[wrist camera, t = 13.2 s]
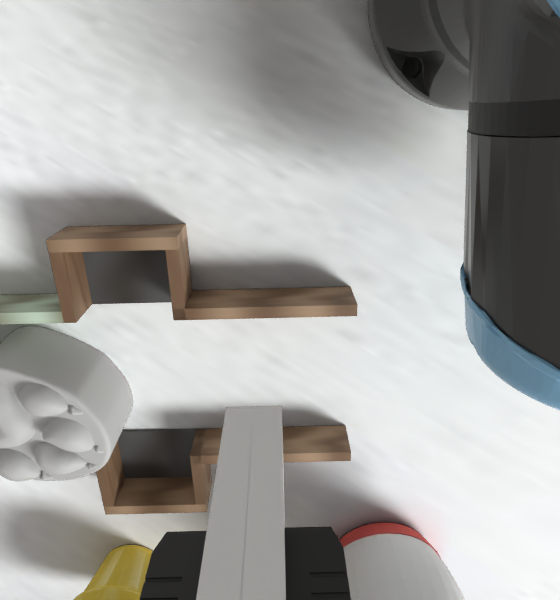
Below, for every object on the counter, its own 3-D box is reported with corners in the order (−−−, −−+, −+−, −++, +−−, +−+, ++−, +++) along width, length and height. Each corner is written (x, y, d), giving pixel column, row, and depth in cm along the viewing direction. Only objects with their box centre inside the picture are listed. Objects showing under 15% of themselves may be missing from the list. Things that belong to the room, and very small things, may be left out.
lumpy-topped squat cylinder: (16, 313, 44) (-41, 362, 36) (151, 370, 47) (125, 428, 39) (-14, 398, 48) (-72, 460, 40) (112, 448, 50) (81, 515, 42)
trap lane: (352, 220, 41) (360, 232, 37) (343, 479, 52) (348, 508, 48) (-89, 230, 41) (-125, 244, 37) (-5, 487, 52) (-27, 517, 48)
